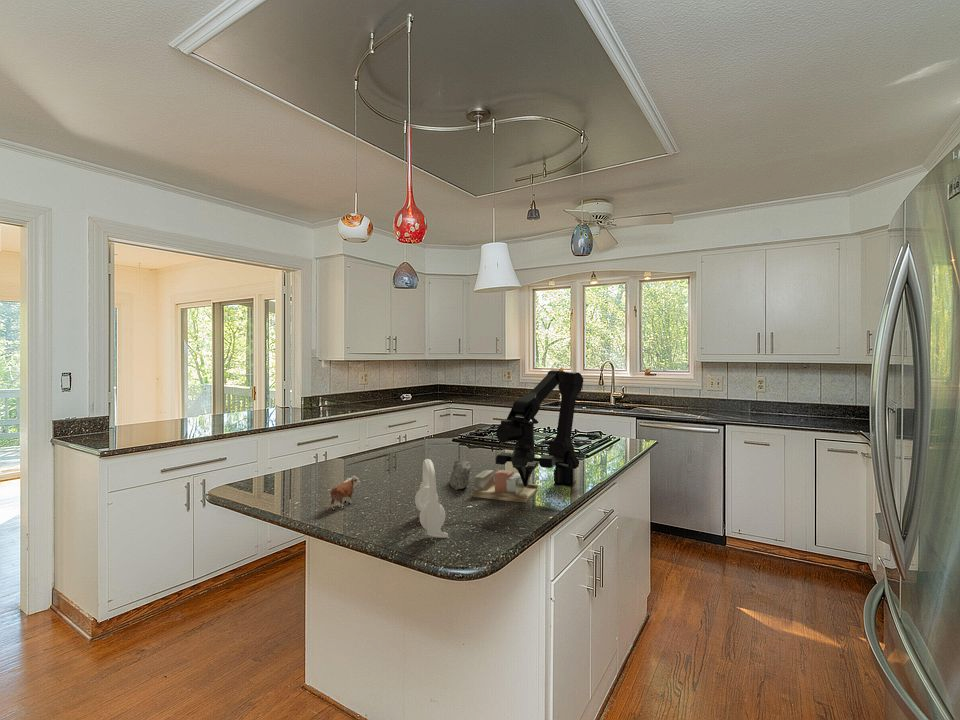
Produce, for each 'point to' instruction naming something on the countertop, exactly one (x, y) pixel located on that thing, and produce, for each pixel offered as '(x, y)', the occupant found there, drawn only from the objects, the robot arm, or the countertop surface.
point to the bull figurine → (344, 491)
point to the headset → (430, 503)
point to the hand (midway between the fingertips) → (525, 486)
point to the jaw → (514, 484)
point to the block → (502, 480)
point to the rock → (460, 474)
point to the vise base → (487, 490)
